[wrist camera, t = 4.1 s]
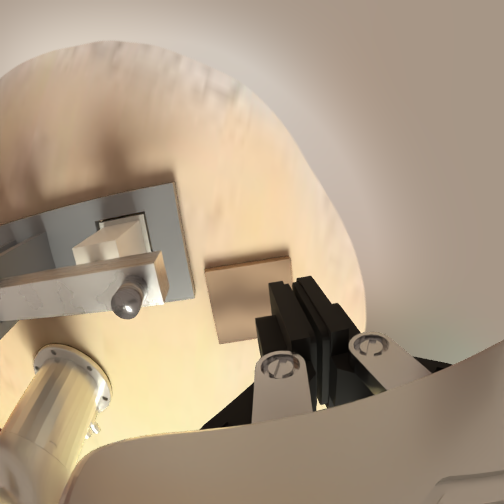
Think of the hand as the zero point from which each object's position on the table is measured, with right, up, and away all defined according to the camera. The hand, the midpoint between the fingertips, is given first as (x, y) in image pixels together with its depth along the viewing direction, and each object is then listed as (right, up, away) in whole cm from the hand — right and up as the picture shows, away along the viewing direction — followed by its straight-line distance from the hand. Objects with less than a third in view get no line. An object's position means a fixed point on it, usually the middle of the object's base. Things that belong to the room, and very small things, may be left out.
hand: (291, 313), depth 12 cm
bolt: (-18, 0, +7) cm, 19 cm away
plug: (-15, +4, +18) cm, 24 cm away
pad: (-2, -3, +22) cm, 22 cm away
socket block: (-21, +2, +18) cm, 28 cm away
